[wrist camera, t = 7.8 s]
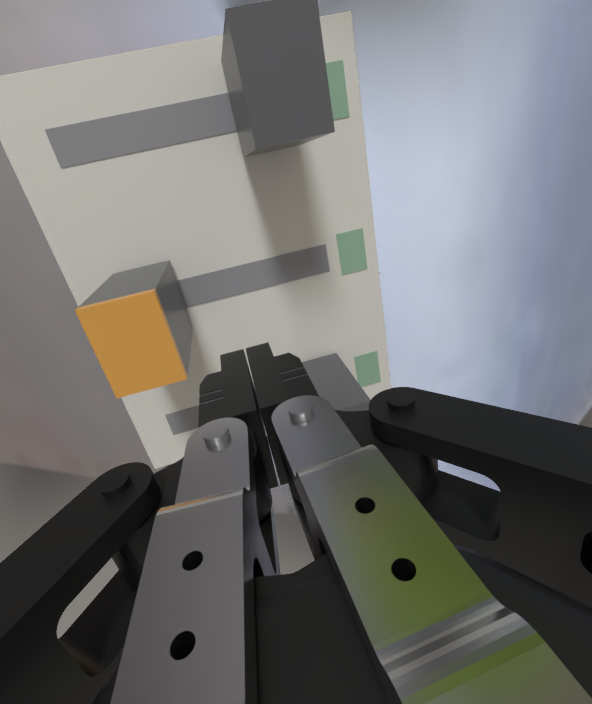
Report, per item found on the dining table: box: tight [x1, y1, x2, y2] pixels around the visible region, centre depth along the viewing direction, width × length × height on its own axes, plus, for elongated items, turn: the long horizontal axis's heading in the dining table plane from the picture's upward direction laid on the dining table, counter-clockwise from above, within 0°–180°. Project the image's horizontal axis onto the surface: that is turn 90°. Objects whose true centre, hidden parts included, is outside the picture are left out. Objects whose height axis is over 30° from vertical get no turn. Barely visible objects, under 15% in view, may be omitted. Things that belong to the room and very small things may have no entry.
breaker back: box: [302, 353, 370, 411], centre depth 23 cm, size 3×4×6 cm
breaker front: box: [221, 0, 335, 157], centre depth 16 cm, size 3×4×6 cm
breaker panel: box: [0, 11, 391, 469], centre depth 23 cm, size 17×22×2 cm
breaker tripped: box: [75, 260, 193, 398], centre depth 19 cm, size 3×4×6 cm
